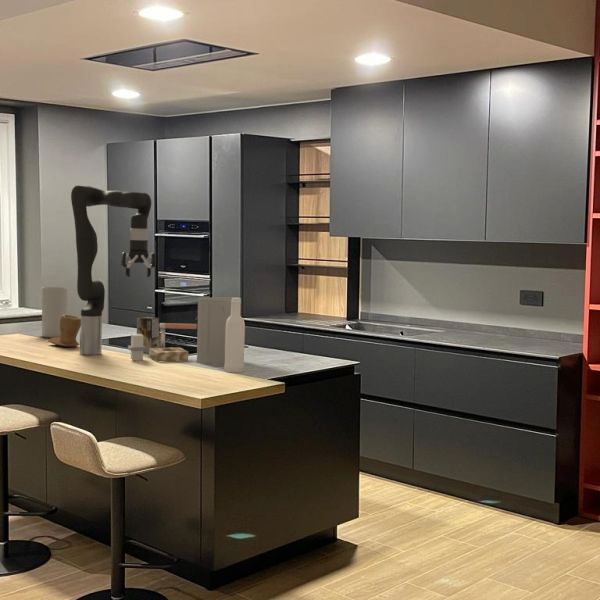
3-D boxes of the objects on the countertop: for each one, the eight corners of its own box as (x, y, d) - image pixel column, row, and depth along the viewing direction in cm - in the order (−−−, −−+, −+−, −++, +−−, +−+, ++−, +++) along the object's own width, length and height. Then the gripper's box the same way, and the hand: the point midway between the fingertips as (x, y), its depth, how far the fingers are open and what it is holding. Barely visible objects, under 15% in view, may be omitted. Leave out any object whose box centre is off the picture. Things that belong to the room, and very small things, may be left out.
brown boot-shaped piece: (86, 347, 406) (86, 315, 405) (63, 348, 397) (63, 316, 396) (69, 343, 417) (70, 312, 415) (47, 345, 408) (47, 313, 407)
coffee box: (160, 352, 396) (160, 317, 395) (151, 353, 390) (152, 318, 389) (144, 350, 400) (145, 316, 399) (135, 352, 394) (136, 317, 393)
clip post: (158, 356, 383) (158, 329, 382) (155, 354, 388) (156, 328, 387) (169, 355, 385) (169, 329, 384) (166, 354, 390) (166, 327, 389)
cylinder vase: (36, 336, 436) (37, 288, 434) (50, 334, 448) (51, 286, 446) (58, 338, 433) (58, 289, 431) (71, 335, 445) (72, 287, 443)
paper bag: (211, 367, 357) (213, 300, 355) (196, 362, 370) (197, 297, 368) (251, 364, 368) (253, 299, 366) (234, 359, 380) (236, 297, 378)
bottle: (233, 368, 355) (235, 297, 353) (247, 371, 350) (249, 298, 348) (220, 371, 349) (222, 297, 347) (234, 373, 344) (236, 299, 342)
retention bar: (196, 329, 385) (196, 324, 385) (159, 328, 384) (159, 323, 384) (196, 328, 388) (196, 323, 388) (159, 327, 387) (159, 323, 387)
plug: (130, 361, 367) (131, 335, 366) (127, 359, 373) (128, 334, 372) (146, 360, 369) (146, 335, 368) (142, 358, 375) (143, 333, 375)
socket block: (156, 361, 367) (156, 352, 367) (149, 357, 380) (149, 348, 380) (188, 360, 373) (188, 351, 373) (179, 356, 386) (179, 347, 385)
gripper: (124, 239, 361) (123, 277, 362) (157, 239, 366) (156, 277, 368) (120, 238, 368) (119, 276, 369) (153, 239, 373) (152, 276, 374)
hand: (138, 276), depth 368 cm, fingers open, 8 cm apart
